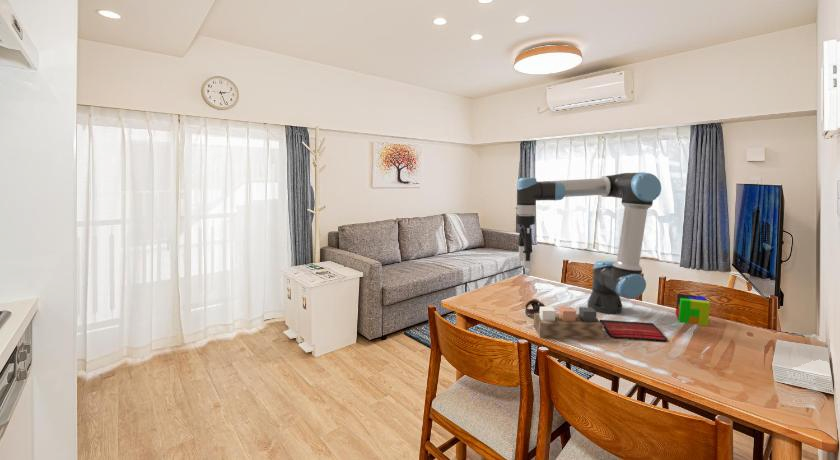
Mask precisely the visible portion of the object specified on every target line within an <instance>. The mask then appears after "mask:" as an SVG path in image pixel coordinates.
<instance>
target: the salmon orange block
mask: <svg viewBox="0 0 840 460" xmlns="http://www.w3.org/2000/svg"><path fill="white" fill-rule="evenodd" d="M558 310H559V311H558V314H559V318H560V320H561V321H576V314H577V311H576V310H575V309H574V307H572V306H559V309H558Z"/></svg>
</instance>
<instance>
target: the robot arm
mask: <svg viewBox="0 0 840 460" xmlns="http://www.w3.org/2000/svg"><path fill="white" fill-rule="evenodd" d="M661 183H662V182H661V181H660V179H658V177H657V176H656V175H655V174H653V173H649V172H643V171H642V172H623V173H622V172H621V173H617V174H609V175H603V176H601V177H600V178H598V177H597V178H584V179H583V178H581V179H564V180H563V179H562V180H549V181H548V180H546V181H545V180H544V181H537V178H536V177H520V178H518V180H517V186H516V206H515V207H514V209H515V210H516V214H517V215H516V218H515V219H516V221H515V222H516V225H519V233H518V241H517V243H518V262H523V269H529V270H530V269H531V268H532V253H533V241H532V239H533V237H532V230H533V229H532V228H530V226H533V225H535V224H536V208H537V207H536V204H537V203H536V201H554V202H555V201H561V200H563V199H564V198H567V197H568V198H569V197H571V198H572V197H586V196H587V197H588V196H601V197H602V198H610V197H611V198H617V199H618V198H619V199H621V205H622V206H623V208H624V209H623V217H622V223H621V230H620V231H621V232H620V238H619V243H618V251H617V257H616V261H613V260H600V261H595V262H594V263H593V267H592V268H593V269H592V270H593V273H592V274H593V275H592V290H591V293H590V296H589V298H588V299H587V306H586V307H592V308H593V309H594V310H595V311H596V312H597V313H602V314H610V315H612V314H613V315H614V314H620V313H622V312H623V303H622V299H621V298H624V299H628V300H633V299H637V298H638V297H639V296H642V294H643V293H644V292H645V291H646V287H647V280H646V279H645V277H644V276H642V273H643V268H642V266H641V264H640V261H641V253H642V249H643V248H642V247H643V240H644V234H645V227H646V222H647V214H648V210H649V209H650V208H652V207H653V203H654V201H655V200H656V199H657V198H658V197H659V196H660V194H661V192H662V184H661Z"/></svg>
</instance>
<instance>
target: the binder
mask: <svg viewBox="0 0 840 460" xmlns="http://www.w3.org/2000/svg"><path fill="white" fill-rule="evenodd" d="M599 321H600V322H601V323H602V324H603V329H604V331H605V333H606V334H607V335H608V336H609V338H611V339H615V340H635V341H636V340H637V341H638V340H641V341H652V342H653V341H654V342H659V343H666V342H668V338H667V337H666V335H664V334H663V333H662V331H661V330H660V329H659V328H658V327H657V326H656V325H655V324H654V323H653V322H643V321H642V322H641V321H640V322H639V321H624V320H623V321H622V320H609V319H608V320H607V319H599Z"/></svg>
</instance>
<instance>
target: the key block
mask: <svg viewBox="0 0 840 460" xmlns="http://www.w3.org/2000/svg"><path fill="white" fill-rule="evenodd" d="M539 313H540V312H539ZM539 313H534V314H533V327H534V328H533V329H534V330H535V332H536V333H537V336H538V337H539V338H542V339H544V338H545V339H546V338H548V339H551V338H552V339H580V340H581V339H582V340H584V339H589V340H590V339H592V340H603V332H604V331H603V329H604V328H603V327H604V326H603V324H602V323H601V322H600V319H598V318H597V317H596V322H582V321H581V320H580V319H579V313H576V321H561V320H560V318H559V313H555V321H541V319H540V318H539Z"/></svg>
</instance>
